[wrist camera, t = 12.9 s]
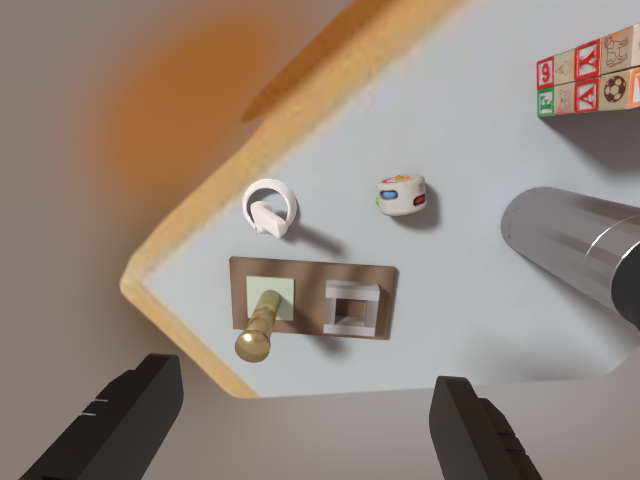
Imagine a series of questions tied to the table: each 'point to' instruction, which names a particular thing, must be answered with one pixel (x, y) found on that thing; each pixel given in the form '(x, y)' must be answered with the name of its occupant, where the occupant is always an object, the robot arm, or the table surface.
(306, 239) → the table surface
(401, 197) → the roller toy
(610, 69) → the stack of blocks
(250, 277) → the sage pad
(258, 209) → the white vr controller
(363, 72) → the table surface
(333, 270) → the walnut board
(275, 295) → the brass peg
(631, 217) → the robot arm
